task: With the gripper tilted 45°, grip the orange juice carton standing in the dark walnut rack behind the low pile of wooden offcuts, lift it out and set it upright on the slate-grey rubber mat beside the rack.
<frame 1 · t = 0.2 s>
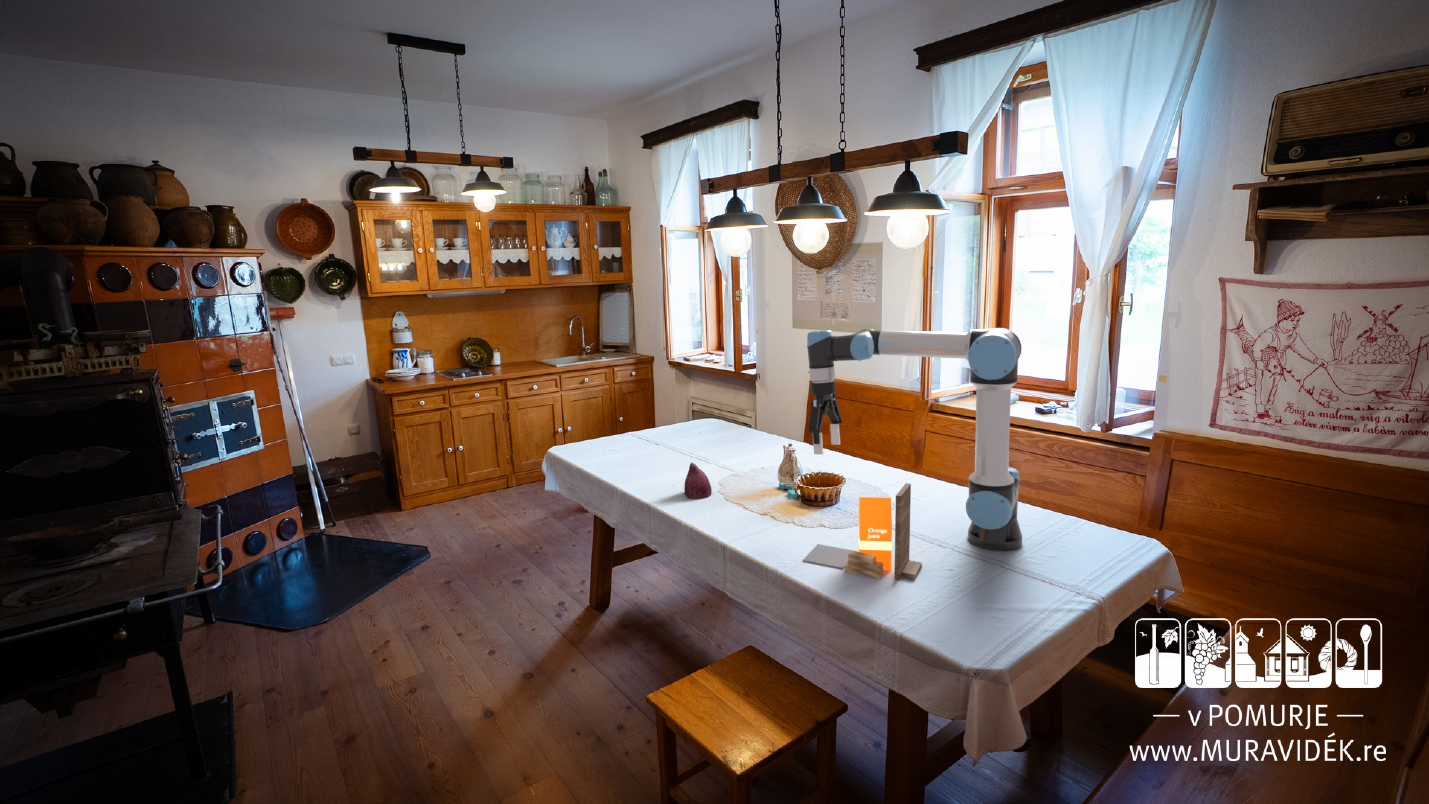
hand: (827, 449, 206), 28 cm above the table, tool pointing down, fingers open, 13 cm apart
walnut rack: (874, 563, 189), on the table
vegetable: (698, 495, 251), on the table
orange juice: (874, 564, 189), on the table
grey mat: (829, 556, 195), on the table
alien figure: (813, 494, 248), on the table
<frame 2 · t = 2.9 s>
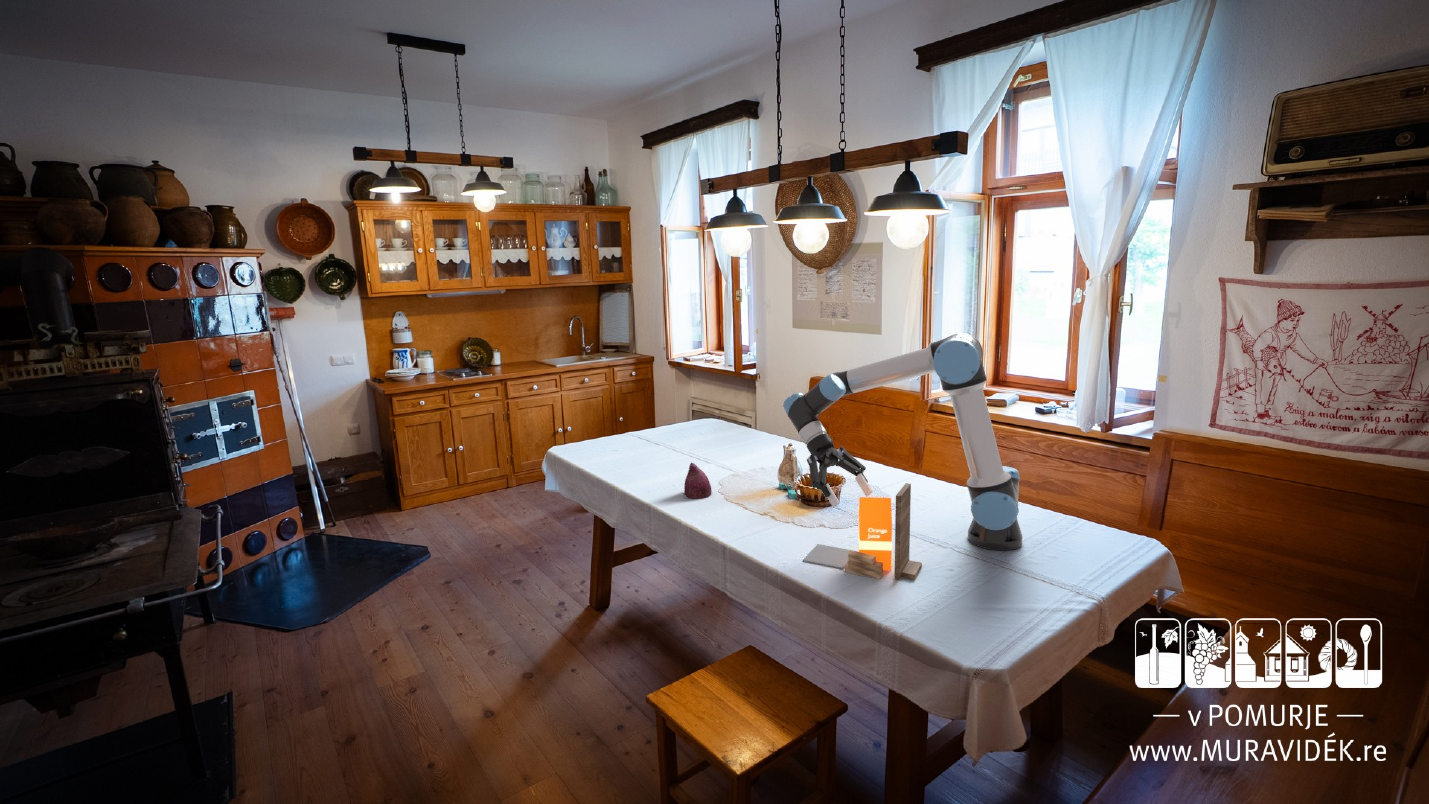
hand: (853, 499, 191), 17 cm above the table, tool tilted 45°, fingers open, 13 cm apart
nothing on the table moved.
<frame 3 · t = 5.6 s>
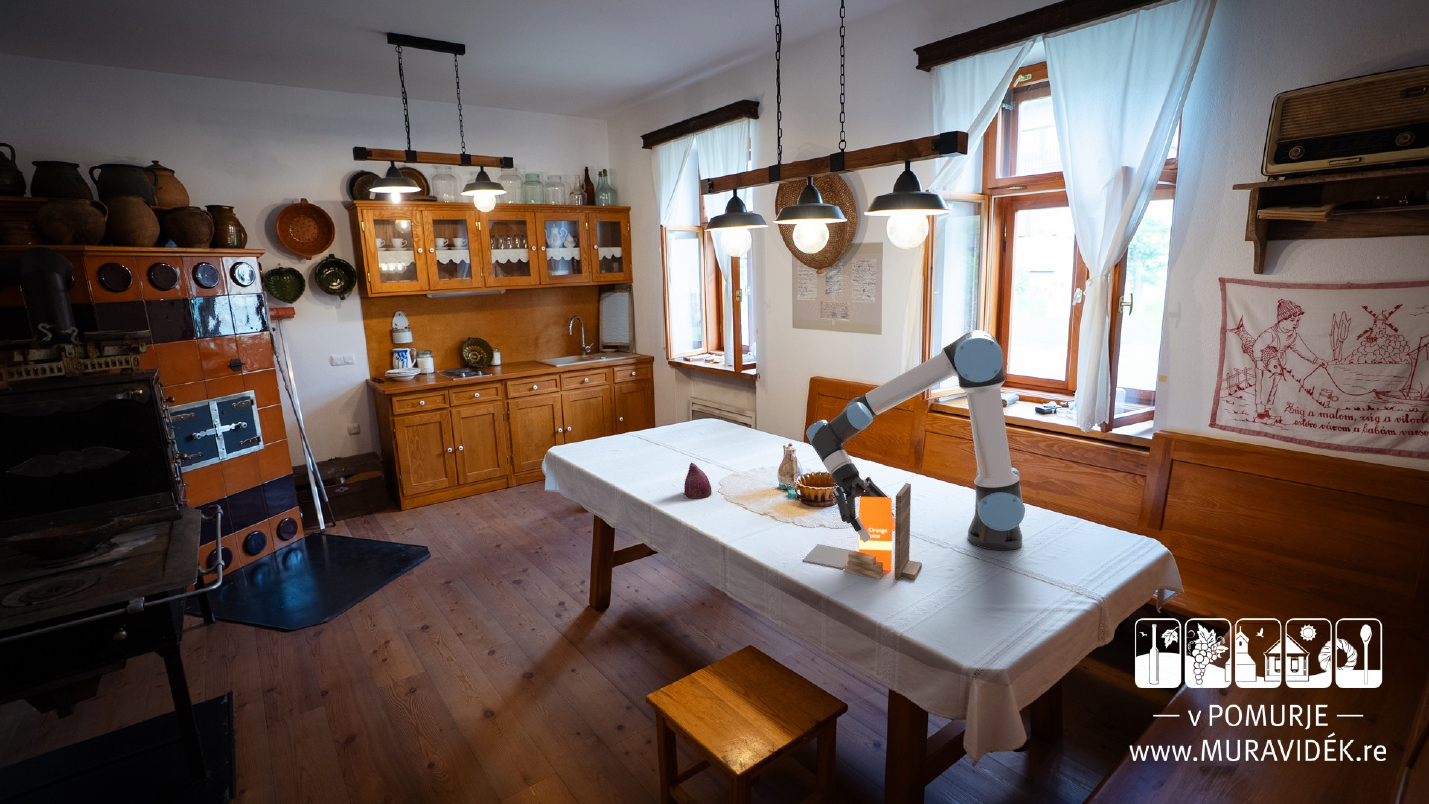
hand: (882, 534, 185), 10 cm above the table, tool tilted 45°, fingers closed on orange juice, 11 cm apart
orange juice: (874, 564, 189), on the table, touching gripper
everything else where it was.
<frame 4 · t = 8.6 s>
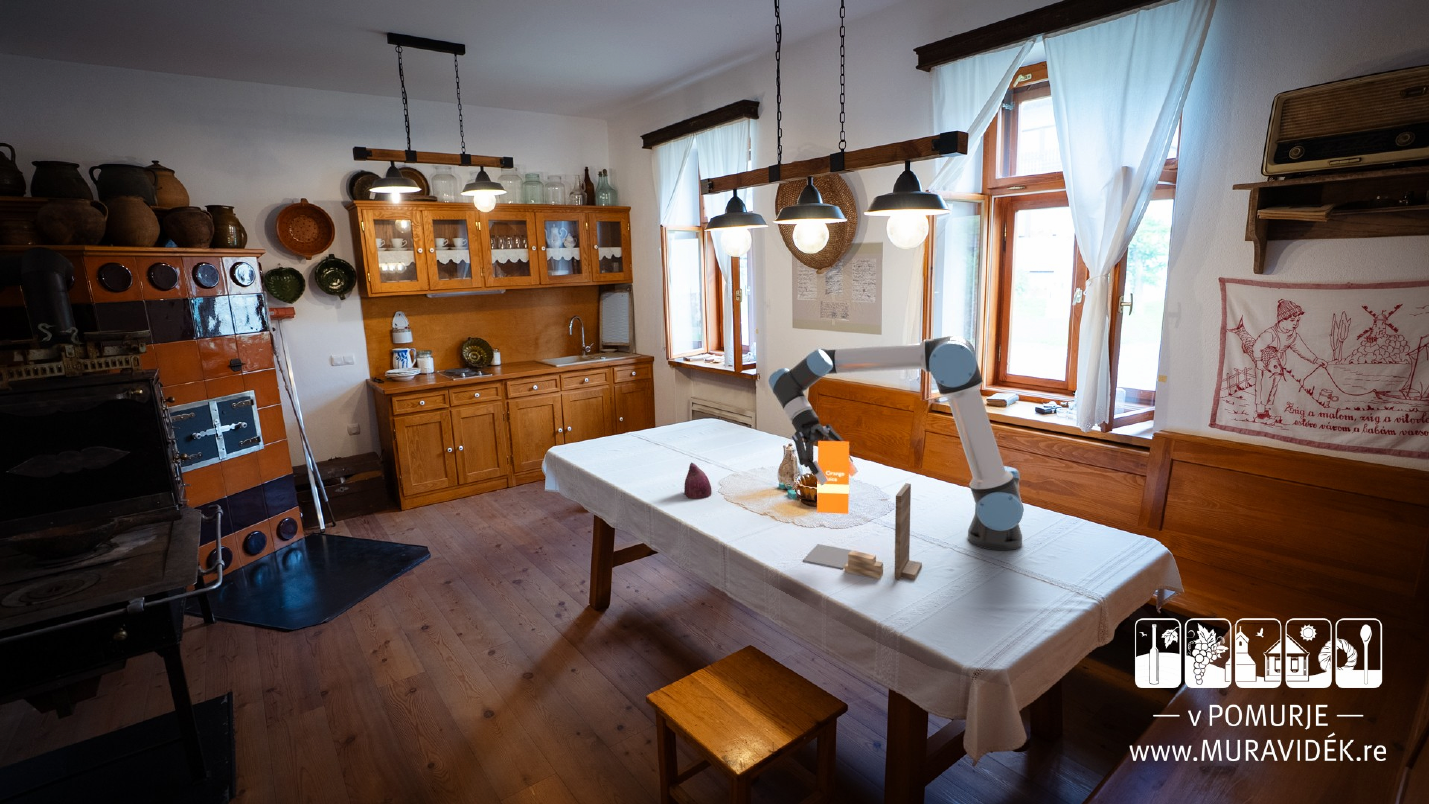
hand: (839, 478, 187), 25 cm above the table, tool tilted 45°, fingers closed on orange juice, 11 cm apart
orange juice: (832, 508, 191), point 15 cm above the table, touching gripper
everything else where it was.
when the fingers open (12 cm above the table, at t = 11.7 s): orange juice drops 1 cm, resting on grey mat.
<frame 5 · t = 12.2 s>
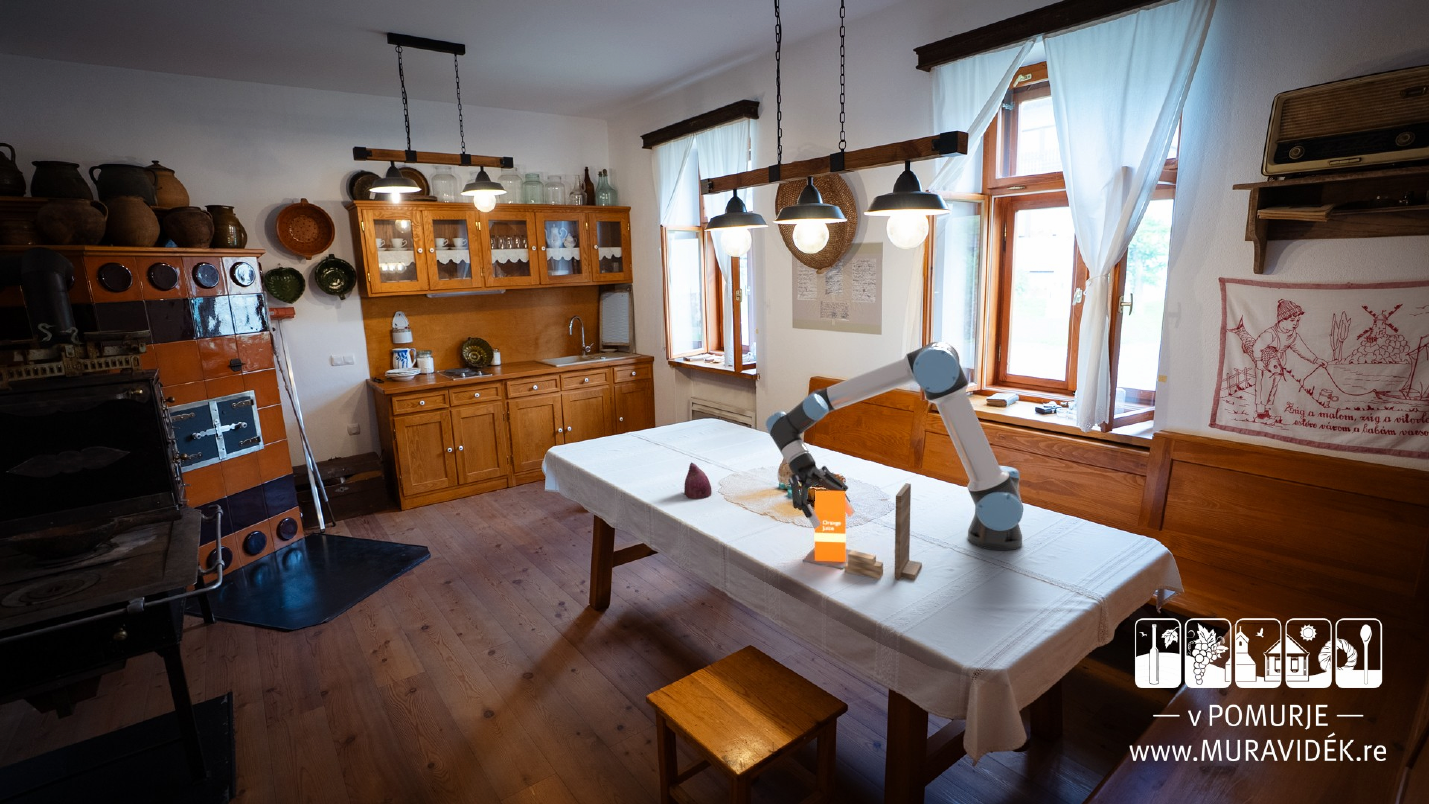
hand: (835, 520, 190), 12 cm above the table, tool tilted 45°, fingers open, 13 cm apart
orange juice: (830, 556, 195), resting on grey mat
everything else where it was.
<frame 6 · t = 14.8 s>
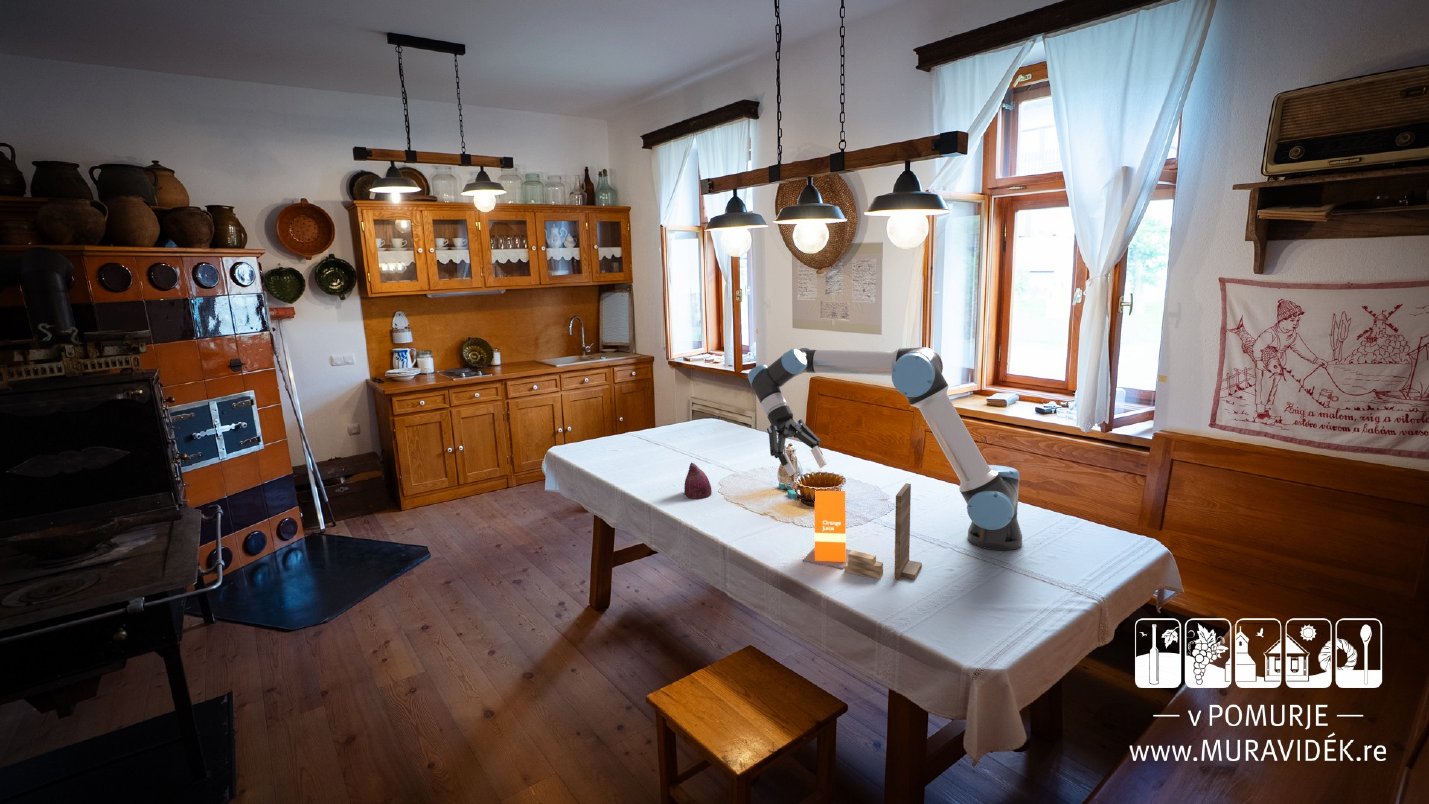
hand: (808, 470, 201), 23 cm above the table, tool tilted 40°, fingers open, 13 cm apart
nothing on the table moved.
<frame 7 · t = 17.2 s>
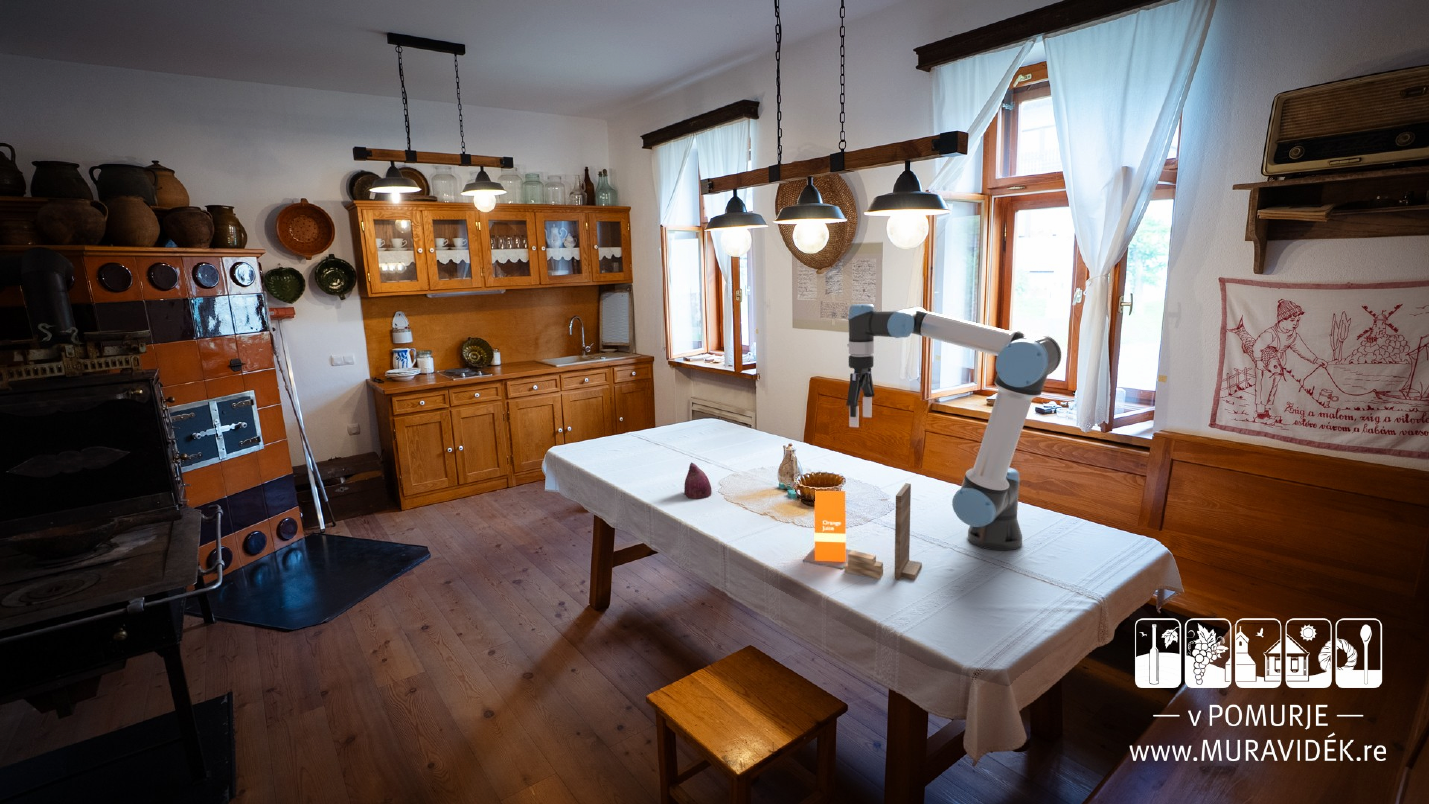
hand: (860, 421, 209), 35 cm above the table, tool pointing down, fingers open, 13 cm apart
nothing on the table moved.
at the end: orange juice inside the target area on the grey mat (0.1 cm from its centre), point 0.2 cm above the grey mat's base; orange juice touching grey mat; orange juice tilted 0° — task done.
